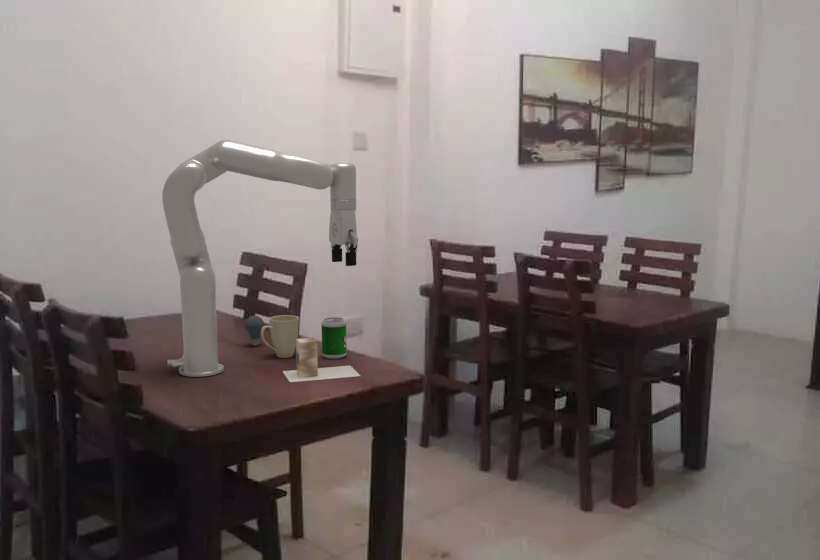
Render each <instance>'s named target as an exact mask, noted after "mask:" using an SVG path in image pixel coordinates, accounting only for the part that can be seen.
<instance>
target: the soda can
mask: <svg viewBox="0 0 820 560" xmlns="http://www.w3.org/2000/svg"><path fill="white" fill-rule="evenodd" d="M347 343H348V342H347V322H346V320H345V319H344V318H343V317H339V316H335V317H334V316H333V317H326V318H324V320H323V321H322V322H321V355H322V357H324V358H325V359H329V360H337V359H338V360H339V359H343V358H344V357H346V356H347V352H348V351H347V346H348V345H347Z"/></svg>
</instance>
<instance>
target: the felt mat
mask: <svg viewBox="0 0 820 560" xmlns="http://www.w3.org/2000/svg"><path fill="white" fill-rule="evenodd" d="M282 373H283V375H284V376H285V377H286V379H287V380H288V382H289V383H299V382H308V381H309V382H310V381H319V380H320V381H321V380H332V379H343V378H354V377H355V378H357V377H361V374H360V373H358V372H357V370H355V368H353V366H351V365H340V366H329V367H318V376H315V377H303V378H300V377H299V376H298V374H297V369H293V370H283V371H282Z"/></svg>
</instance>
